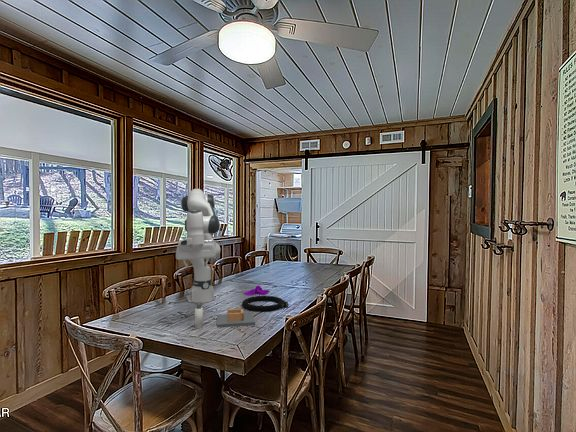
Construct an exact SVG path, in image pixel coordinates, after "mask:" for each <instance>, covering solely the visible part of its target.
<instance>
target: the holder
mask: <svg viewBox="0 0 576 432" xmlns="http://www.w3.org/2000/svg"><path fill="white" fill-rule="evenodd" d="M255 325H256V321H255V318H254V315H253V313H252V312H245V313H244V310H243V308H230V309H229V308H228V309H227V313H226V314H216V328H229V327H230V328H231V327H244V326H255Z"/></svg>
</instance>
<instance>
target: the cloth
mask: <svg viewBox="0 0 576 432" xmlns="http://www.w3.org/2000/svg"><path fill="white" fill-rule="evenodd" d="M266 292H268V293H266ZM269 293H270V289H269V290H268V289H263V287H261V286H260V285H258V284H257V285H256V286H255V288H252V289H250V290H248V291H244V292H243V293H242V294H243V295H246V296H248V297H252V296H254V294H255V295H258V294H259V296H260V295H261V296H266V295H265V294H269Z"/></svg>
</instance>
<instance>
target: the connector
mask: <svg viewBox="0 0 576 432" xmlns="http://www.w3.org/2000/svg"><path fill="white" fill-rule="evenodd" d="M203 327H204V307H202V303H201V302H197V303H196V307H195V308H194V329H198V330H199V329H203Z"/></svg>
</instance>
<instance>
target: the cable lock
mask: <svg viewBox="0 0 576 432" xmlns="http://www.w3.org/2000/svg"><path fill="white" fill-rule="evenodd" d="M255 302H273V303H275V304H272V305H255V304H251V303H255ZM248 303H249V304H248ZM241 305H242V308H244V309H245V310H247V311H252V312H259V313H261V312H263V313H265V312H273V311H275V312H276V311H278V310H280V309H281V310H282V309H288V308H289V302H288V301H286V300H284V299H283V298H281V297H279V296H272V295H261V296H256V295H255V296H249V297H247V298H245V299H244V300H242V303H241Z"/></svg>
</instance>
